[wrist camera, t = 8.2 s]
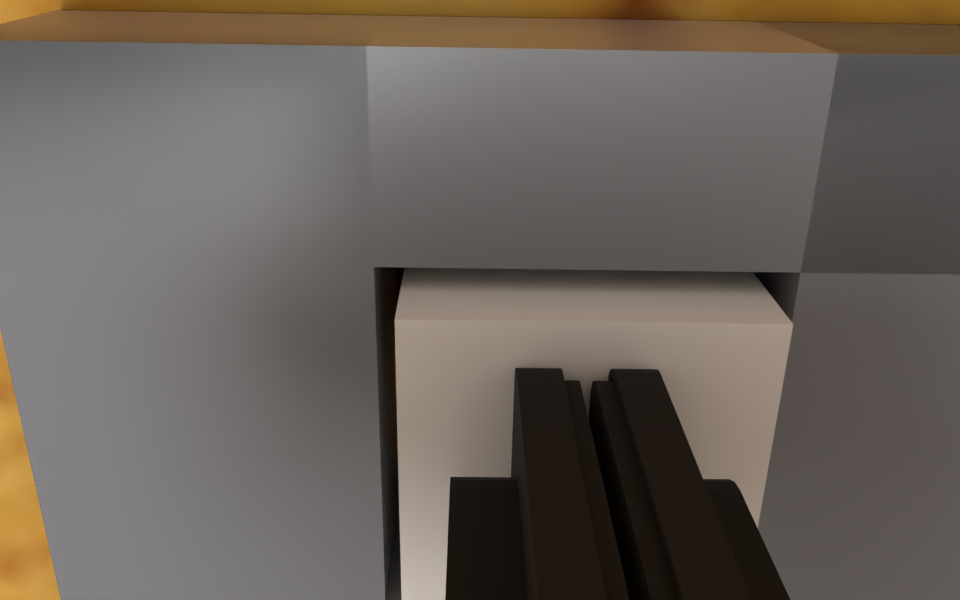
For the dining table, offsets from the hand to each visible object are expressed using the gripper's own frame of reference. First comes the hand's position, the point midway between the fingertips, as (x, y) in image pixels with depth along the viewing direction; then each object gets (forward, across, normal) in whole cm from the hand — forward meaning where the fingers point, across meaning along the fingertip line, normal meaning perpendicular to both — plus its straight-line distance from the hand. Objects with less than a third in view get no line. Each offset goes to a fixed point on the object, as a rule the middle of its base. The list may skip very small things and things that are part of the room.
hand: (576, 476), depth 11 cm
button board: (+4, 0, +8) cm, 9 cm away
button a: (+4, 0, 0) cm, 4 cm away
